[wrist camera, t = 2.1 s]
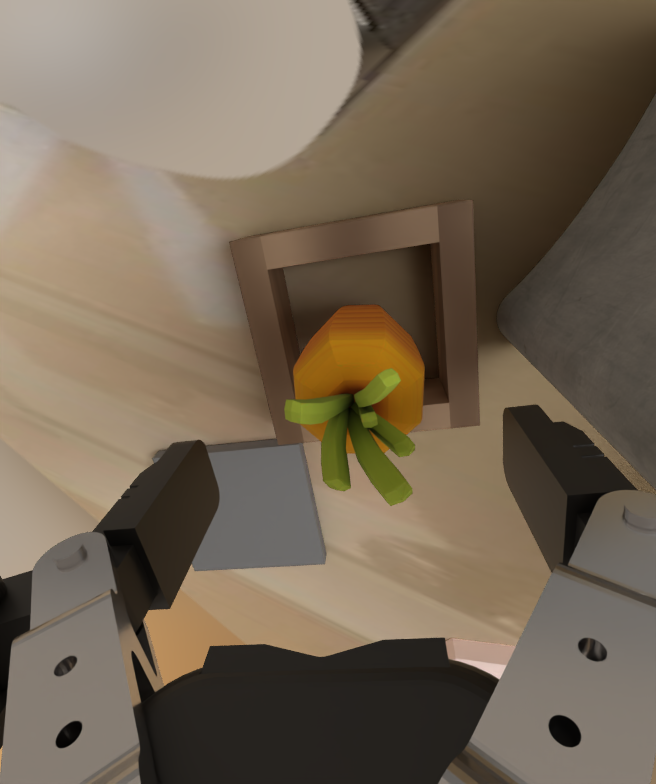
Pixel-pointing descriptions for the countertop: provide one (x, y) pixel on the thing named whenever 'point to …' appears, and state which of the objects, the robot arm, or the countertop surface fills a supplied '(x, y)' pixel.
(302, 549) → the mat
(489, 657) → the soap bar
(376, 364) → the carrot
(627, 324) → the hip flask
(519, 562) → the countertop surface
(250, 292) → the socket collar
